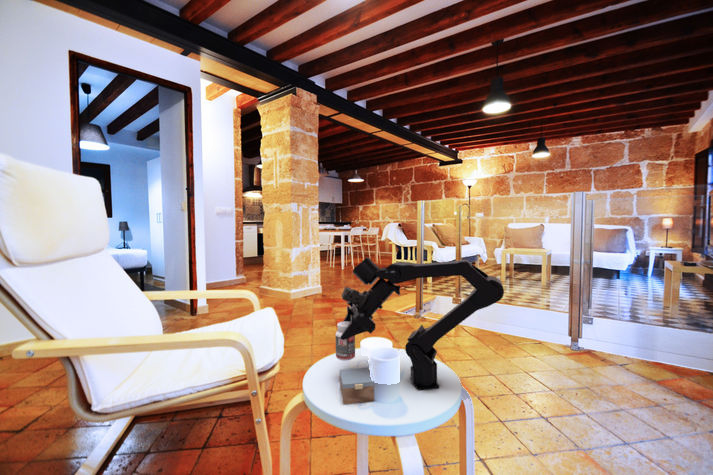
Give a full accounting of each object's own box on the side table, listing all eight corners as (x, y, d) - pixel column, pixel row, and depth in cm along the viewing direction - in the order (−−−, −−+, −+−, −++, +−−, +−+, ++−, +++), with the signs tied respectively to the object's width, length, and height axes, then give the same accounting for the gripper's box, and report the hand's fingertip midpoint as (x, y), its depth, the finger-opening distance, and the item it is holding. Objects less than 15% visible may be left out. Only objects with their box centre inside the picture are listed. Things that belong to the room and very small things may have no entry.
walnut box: (368, 384, 86) (368, 371, 86) (374, 401, 78) (374, 386, 78) (340, 387, 85) (340, 373, 85) (343, 404, 77) (343, 388, 77)
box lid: (368, 371, 86) (368, 367, 86) (374, 387, 77) (374, 382, 77) (339, 374, 85) (339, 369, 85) (343, 390, 76) (342, 385, 76)
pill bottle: (352, 362, 86) (352, 327, 85) (333, 360, 87) (332, 326, 87) (356, 353, 91) (356, 321, 91) (338, 352, 93) (338, 320, 92)
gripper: (353, 272, 98) (319, 308, 97) (362, 283, 80) (321, 328, 78) (377, 295, 100) (344, 330, 98) (392, 311, 81) (352, 355, 80)
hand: (340, 335), depth 89 cm, fingers closed on pill bottle, 6 cm apart
